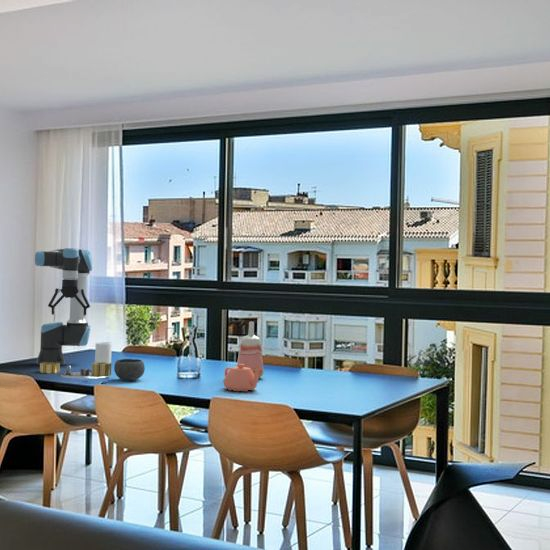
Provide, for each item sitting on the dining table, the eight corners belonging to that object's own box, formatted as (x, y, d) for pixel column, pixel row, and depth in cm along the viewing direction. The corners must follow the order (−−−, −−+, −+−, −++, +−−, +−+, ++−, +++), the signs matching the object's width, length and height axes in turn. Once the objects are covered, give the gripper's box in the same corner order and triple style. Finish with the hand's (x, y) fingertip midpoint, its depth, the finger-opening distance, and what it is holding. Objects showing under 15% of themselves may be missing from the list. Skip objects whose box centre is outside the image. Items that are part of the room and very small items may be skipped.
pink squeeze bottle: (246, 375, 423) (248, 320, 422) (268, 378, 414) (270, 322, 414) (230, 378, 411) (232, 321, 410) (252, 381, 402) (254, 323, 402)
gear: (41, 373, 403) (41, 361, 403) (60, 373, 405) (60, 362, 405) (38, 376, 394) (39, 364, 394) (58, 376, 395) (58, 364, 395)
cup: (106, 374, 407) (107, 344, 407) (92, 373, 408) (93, 343, 408) (113, 372, 415) (114, 342, 415) (98, 371, 416) (99, 341, 416)
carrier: (62, 374, 403) (62, 362, 403) (110, 374, 407) (110, 363, 407) (57, 381, 380) (57, 369, 380) (108, 381, 384) (108, 369, 384)
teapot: (270, 391, 373) (271, 365, 373) (251, 395, 360) (252, 368, 360) (232, 385, 385) (233, 360, 385) (213, 389, 372) (214, 363, 372)
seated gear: (90, 374, 398) (90, 362, 397) (109, 373, 401) (109, 361, 401) (92, 376, 389) (93, 364, 388) (112, 376, 392) (112, 364, 392)
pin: (66, 374, 393) (66, 365, 393) (70, 374, 393) (71, 365, 393) (65, 375, 391) (66, 366, 391) (70, 375, 391) (70, 366, 391)
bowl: (144, 382, 385) (145, 362, 385) (113, 382, 383) (113, 361, 383) (144, 378, 400) (144, 358, 400) (114, 377, 397) (115, 358, 397)
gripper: (43, 278, 386) (41, 321, 387) (95, 280, 391) (93, 322, 391) (45, 278, 394) (43, 320, 394) (96, 279, 398) (94, 321, 398)
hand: (68, 321), depth 392 cm, fingers open, 13 cm apart
